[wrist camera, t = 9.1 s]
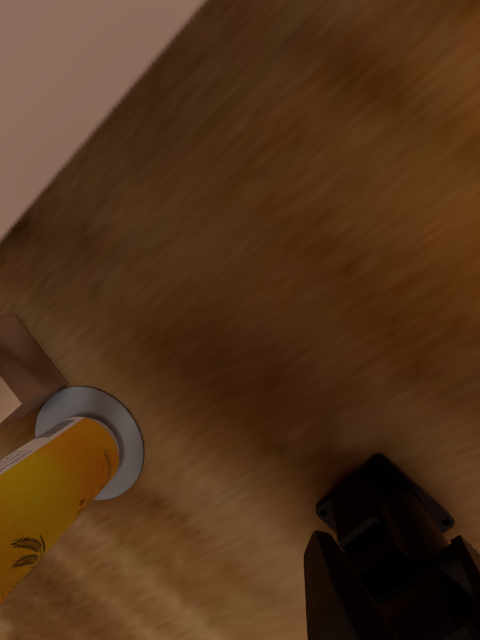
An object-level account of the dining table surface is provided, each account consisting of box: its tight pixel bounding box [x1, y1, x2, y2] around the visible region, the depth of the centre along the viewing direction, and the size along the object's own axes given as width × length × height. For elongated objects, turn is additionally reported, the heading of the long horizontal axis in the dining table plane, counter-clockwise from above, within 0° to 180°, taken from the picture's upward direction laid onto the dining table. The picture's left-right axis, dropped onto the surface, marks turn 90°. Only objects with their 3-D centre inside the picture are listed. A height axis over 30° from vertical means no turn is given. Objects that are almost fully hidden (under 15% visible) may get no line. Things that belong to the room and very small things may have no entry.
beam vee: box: [0, 316, 144, 500], centre depth 22 cm, size 15×20×4 cm
